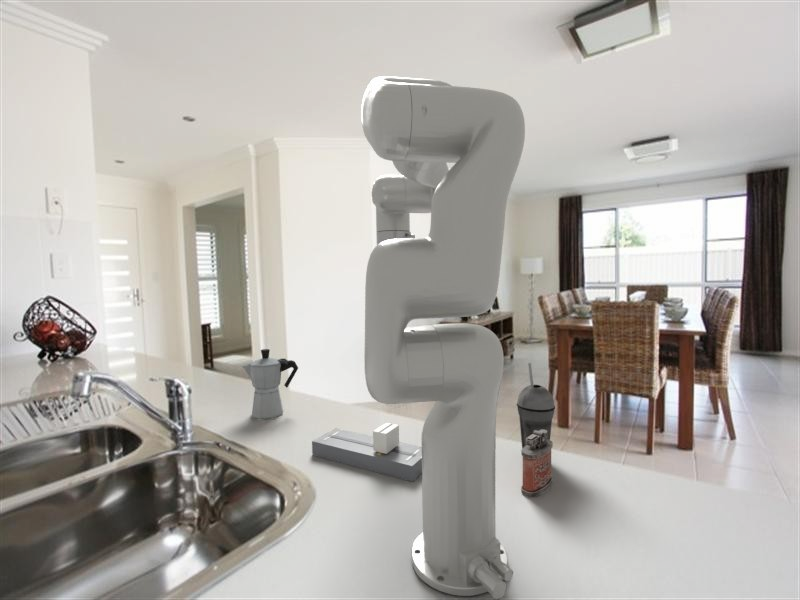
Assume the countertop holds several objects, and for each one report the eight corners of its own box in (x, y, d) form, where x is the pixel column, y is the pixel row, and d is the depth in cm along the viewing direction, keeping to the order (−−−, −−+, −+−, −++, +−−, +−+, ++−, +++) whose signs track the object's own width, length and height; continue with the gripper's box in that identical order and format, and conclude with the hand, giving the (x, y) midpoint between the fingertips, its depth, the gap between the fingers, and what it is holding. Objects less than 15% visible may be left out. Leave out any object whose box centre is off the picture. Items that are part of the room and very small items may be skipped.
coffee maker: (240, 422, 107) (237, 353, 106) (245, 411, 115) (242, 347, 114) (299, 416, 110) (297, 350, 109) (299, 406, 119) (297, 344, 118)
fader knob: (399, 444, 84) (398, 424, 83) (386, 453, 79) (386, 433, 79) (386, 441, 85) (386, 422, 85) (373, 450, 81) (373, 430, 80)
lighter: (538, 475, 76) (539, 423, 76) (556, 482, 74) (557, 428, 73) (516, 492, 71) (516, 436, 70) (535, 500, 68) (535, 441, 68)
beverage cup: (557, 472, 78) (558, 368, 76) (517, 469, 79) (518, 367, 78) (551, 455, 85) (552, 359, 83) (515, 452, 86) (515, 358, 85)
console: (431, 463, 82) (431, 448, 82) (412, 481, 75) (412, 465, 75) (336, 441, 94) (335, 427, 94) (312, 454, 87) (311, 440, 87)
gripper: (430, 239, 92) (431, 321, 93) (374, 243, 99) (376, 318, 100) (415, 237, 85) (416, 325, 86) (356, 241, 93) (358, 322, 94)
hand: (394, 321), depth 93 cm, fingers closed
